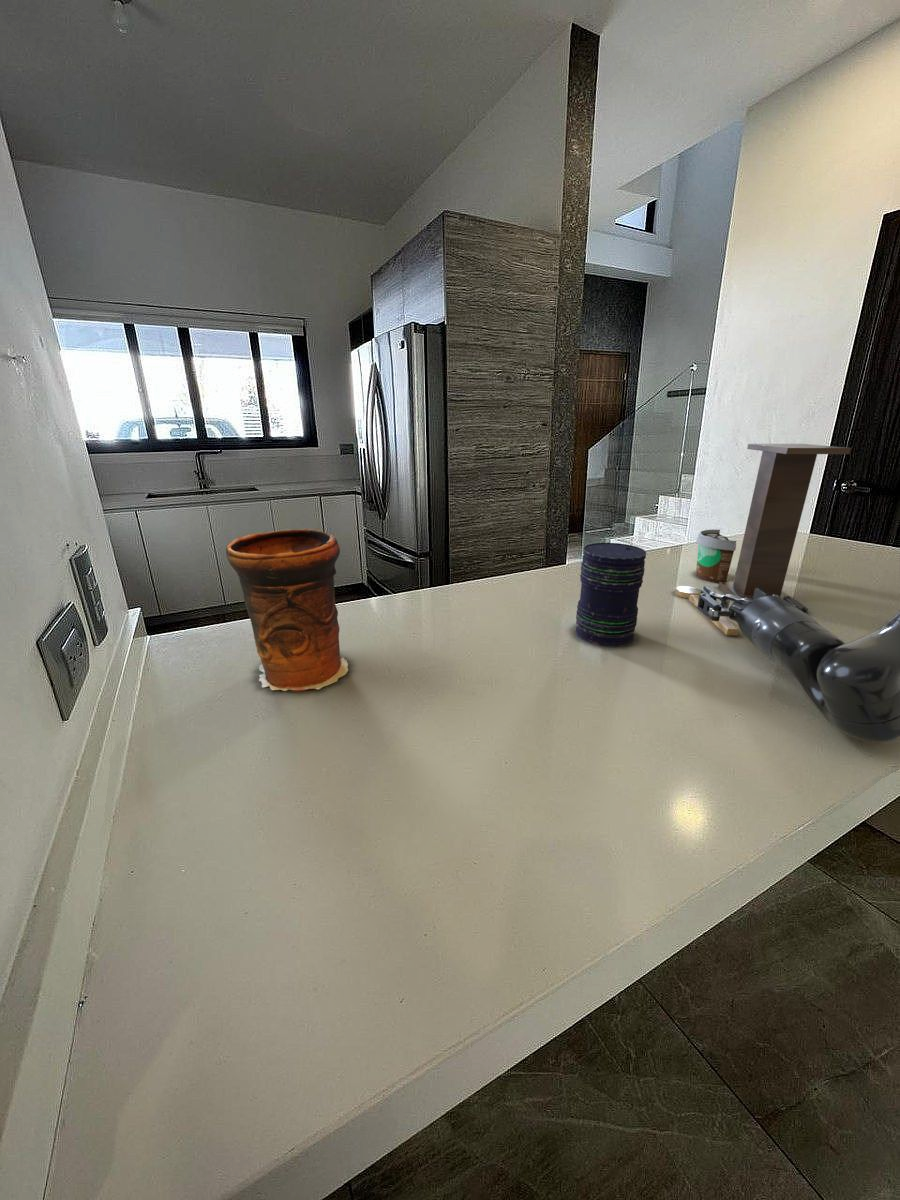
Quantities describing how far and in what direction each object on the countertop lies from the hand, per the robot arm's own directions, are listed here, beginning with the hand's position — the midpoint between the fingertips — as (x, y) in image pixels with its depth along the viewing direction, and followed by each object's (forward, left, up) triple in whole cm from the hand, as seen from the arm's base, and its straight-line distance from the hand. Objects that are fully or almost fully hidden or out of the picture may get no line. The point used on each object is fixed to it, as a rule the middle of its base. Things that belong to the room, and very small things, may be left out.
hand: (730, 592), depth 83 cm
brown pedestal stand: (-19, -5, -6) cm, 20 cm away
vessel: (+70, -18, -7) cm, 73 cm away
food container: (-23, -20, -7) cm, 31 cm away
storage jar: (+21, -7, -7) cm, 23 cm away
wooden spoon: (-4, -7, -6) cm, 10 cm away
